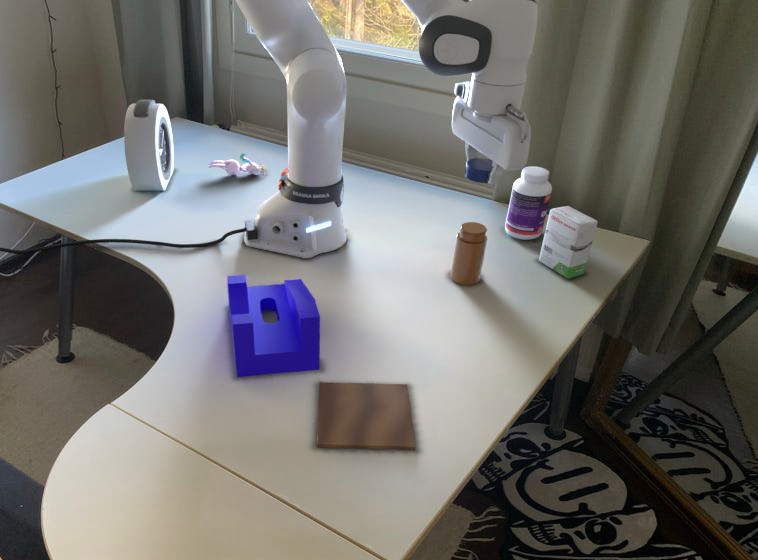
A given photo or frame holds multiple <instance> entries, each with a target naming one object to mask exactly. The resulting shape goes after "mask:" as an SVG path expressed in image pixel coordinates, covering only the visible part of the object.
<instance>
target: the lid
mask: <svg viewBox="0 0 758 560" xmlns="http://www.w3.org/2000/svg"><path fill="white" fill-rule="evenodd" d="M477 158H478V159H471V160H469V161H467V160H466V161H467V164H466V163H465V168H464V177H465V178H466V179H467V180H469V181H471V182H475V183H480V184H489V183H488V182H487V181H486V179H487V173H491V171H492V169H493V168H494V167H493V166H492V163H493V161H492V160H491V159H489V158H479V157H477Z"/></svg>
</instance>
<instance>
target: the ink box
mask: <svg viewBox="0 0 758 560" xmlns="http://www.w3.org/2000/svg"><path fill="white" fill-rule="evenodd" d="M598 223H599V221H598V220H596V219H595V218H593V217H591V216H589V215H587V214H585V213H584V212H581V211H579V210H577V209H575V208H573V207H571V206H569V205H564V206H560V207H554V208H551V209H550V210H549V213H548V217H547V223H546V226H545V232H544V235H543V240H542V245H541V249H540V253H539V258H538V262H540V263H541V264H543V265H545V266H546V267H548V268H550V269H551V270H552V271H554V272H556V273H557V274H559V275H560V276H563V277H564V278H566V279H567V280H569V279H572V278H575V277H578V276H581V275H584V274H585V272H586V271H585V270H586V267H587V263H588V259H589V256H590V252H591V248H592V245H593V241H594V238H595V235H596V230H597V226H598Z"/></svg>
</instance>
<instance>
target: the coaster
mask: <svg viewBox="0 0 758 560" xmlns="http://www.w3.org/2000/svg"><path fill="white" fill-rule="evenodd" d="M318 387H319V388H318V413H317V414H318V417H317V443H316V445H317V448H334V449H335V448H336V449H338V448H339V449H371V450H372V449H373V450H374V449H375V450H376V449H377V450H409V451H410V450H411V451H414V450H416V442H415V436H414V435H415V434H414V427H413V420H412V412H411V405H410V396H409V389H408V384H406V383H403V384H402V383H367V382H329V381H328V382H325V381H322V382H321V381H319V385H318Z"/></svg>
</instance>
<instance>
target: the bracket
mask: <svg viewBox="0 0 758 560" xmlns="http://www.w3.org/2000/svg"><path fill="white" fill-rule="evenodd" d="M226 282H227V283H226V285H227V297H228V298H227V299H228V308H229V309H228V310H229V317H230V318H229V319H230V327H231V335H232V344H233V354H234V362H235V371H236V378H245V377H255V376H266V375H276V374H287V373H297V372H305V371H306V372H307V371H308V372H309V371H316V370H317V371H319V370H320V363H321V361H320V358H321V356H320V355H321V315H320V311H319V308H318V305H317V302H316V301H317V300H316V299H315V297H314V296H313V294H312V293H311V291H310V290H309V288H308V287H307V286H306V284H305V282H304V281H303V280H302V279H301V278H297V279H284V280H283V283H275V284H263V285H251V286H248V282H247V276H246V274H235V275H227V276H226ZM266 311H267V312H269V311H270V312H274V313H275V314H276V319H277V321H275V322H273V323H268V322H265V321H264V320H263V314H262V313H264V312H266Z"/></svg>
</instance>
